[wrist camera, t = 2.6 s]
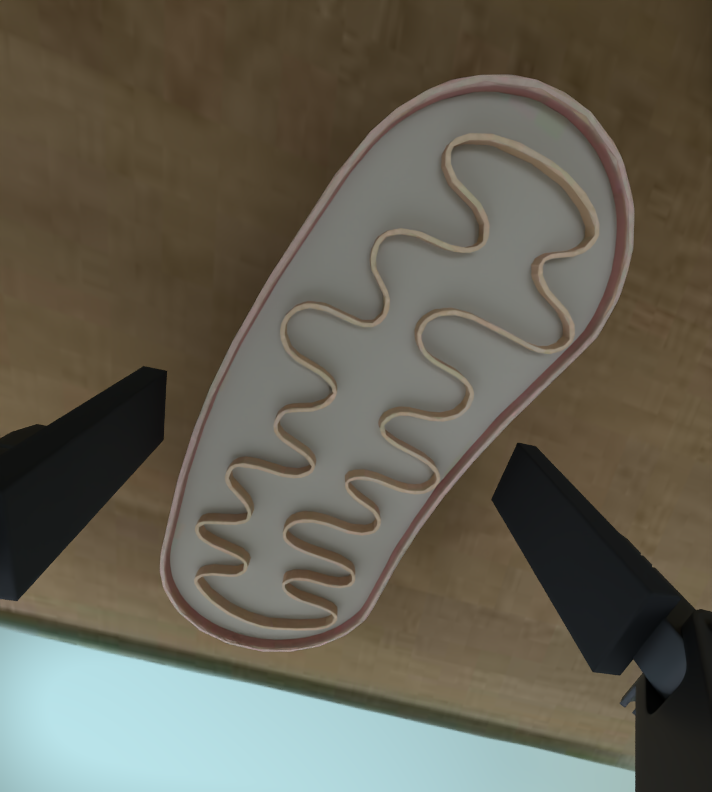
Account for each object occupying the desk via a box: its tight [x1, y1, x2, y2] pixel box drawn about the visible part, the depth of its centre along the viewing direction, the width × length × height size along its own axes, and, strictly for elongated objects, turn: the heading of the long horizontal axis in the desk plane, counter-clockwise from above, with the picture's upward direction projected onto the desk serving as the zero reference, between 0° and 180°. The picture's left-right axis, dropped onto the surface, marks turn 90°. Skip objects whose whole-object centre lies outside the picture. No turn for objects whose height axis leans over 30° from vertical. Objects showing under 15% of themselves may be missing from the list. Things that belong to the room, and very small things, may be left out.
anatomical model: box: [160, 75, 634, 651], centre depth 15 cm, size 23×10×5 cm, turn 151°
